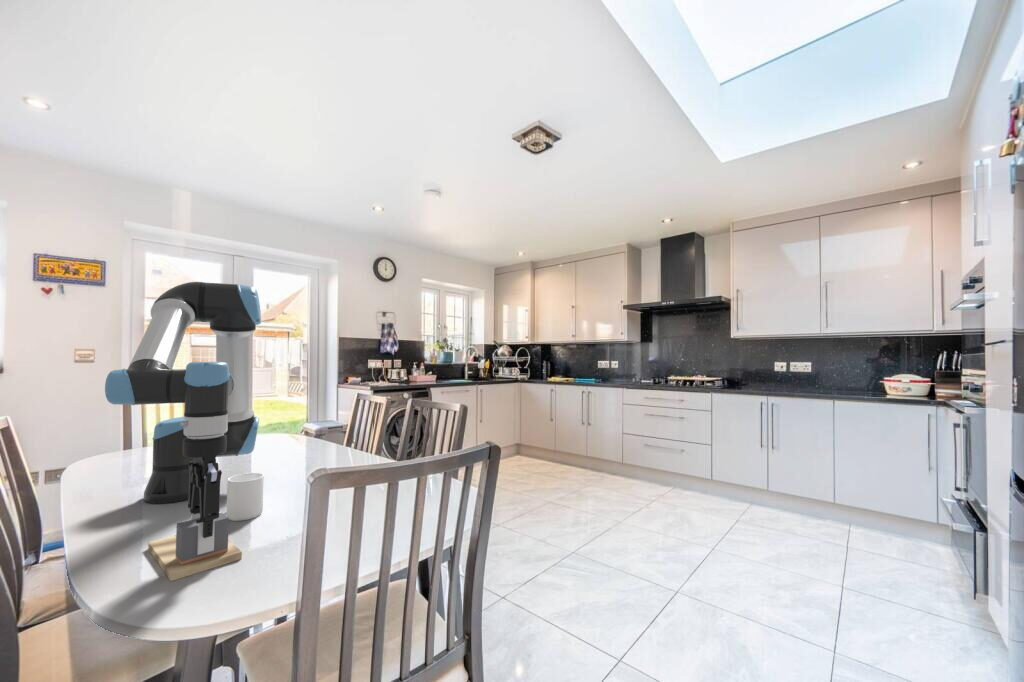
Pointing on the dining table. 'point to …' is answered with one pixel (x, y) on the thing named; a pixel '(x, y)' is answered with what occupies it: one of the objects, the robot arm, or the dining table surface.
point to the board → (174, 570)
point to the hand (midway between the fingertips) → (201, 547)
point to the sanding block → (189, 537)
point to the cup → (245, 496)
